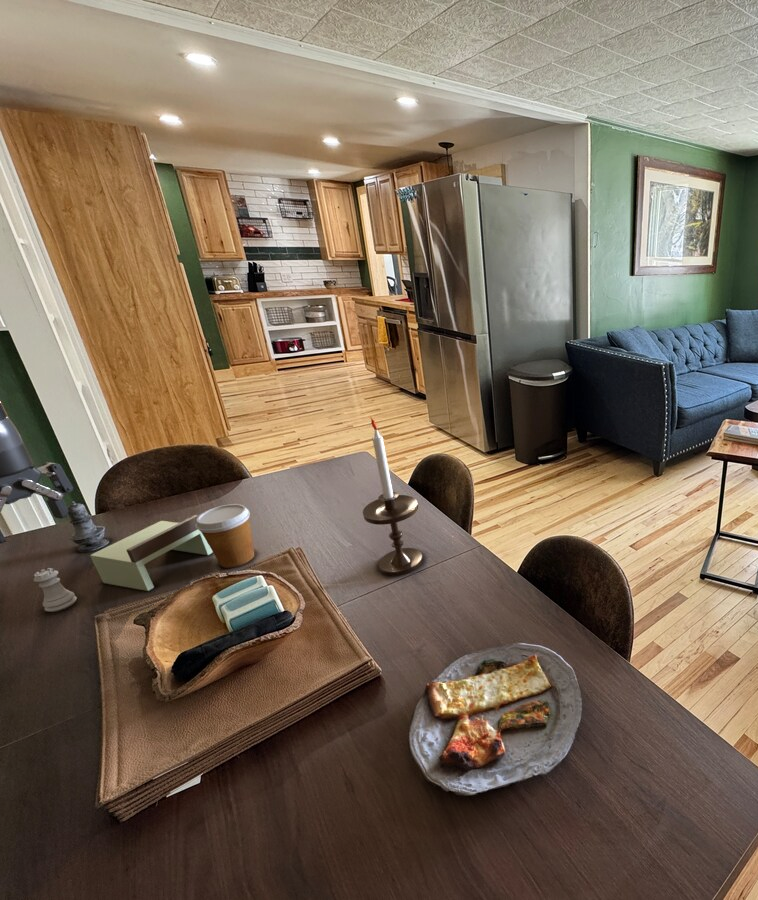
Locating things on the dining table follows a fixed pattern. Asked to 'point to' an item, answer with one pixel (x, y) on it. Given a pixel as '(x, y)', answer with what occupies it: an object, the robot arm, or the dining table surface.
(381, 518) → the candlestick
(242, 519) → the disposable coffee cup
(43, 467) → the robot arm
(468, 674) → the food plate
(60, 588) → the rook chess piece
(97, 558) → the shelf
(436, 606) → the dining table surface
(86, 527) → the grey upright piece
